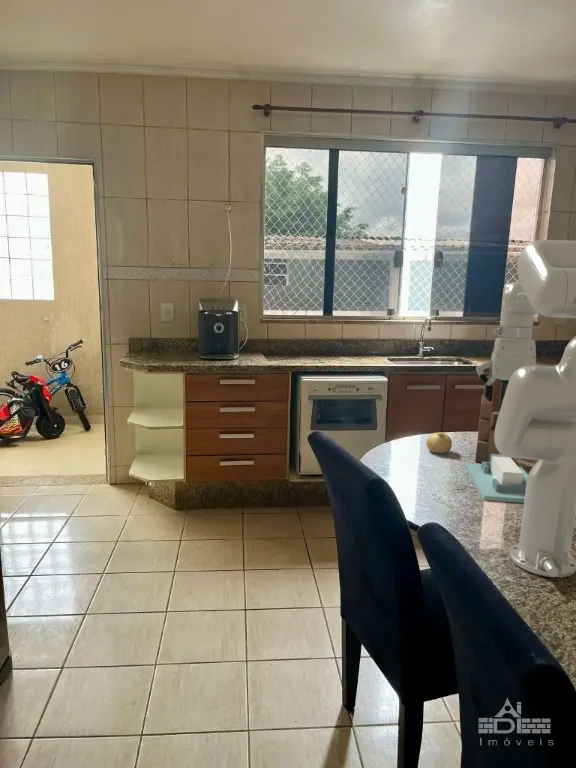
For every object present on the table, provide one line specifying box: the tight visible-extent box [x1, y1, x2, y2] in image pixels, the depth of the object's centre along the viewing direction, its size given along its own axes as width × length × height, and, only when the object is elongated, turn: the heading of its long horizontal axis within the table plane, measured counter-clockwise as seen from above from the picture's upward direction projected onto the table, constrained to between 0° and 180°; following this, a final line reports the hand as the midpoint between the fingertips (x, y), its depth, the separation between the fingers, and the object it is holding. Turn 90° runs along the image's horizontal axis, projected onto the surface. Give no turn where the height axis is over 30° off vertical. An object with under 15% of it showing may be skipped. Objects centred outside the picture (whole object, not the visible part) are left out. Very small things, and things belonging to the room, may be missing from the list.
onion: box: [425, 431, 453, 455], centre depth 181 cm, size 8×8×7 cm
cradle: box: [465, 462, 529, 504], centre depth 156 cm, size 24×16×3 cm, turn 174°
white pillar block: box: [489, 453, 523, 485], centre depth 155 cm, size 14×5×5 cm, turn 174°
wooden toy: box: [475, 380, 500, 464], centre depth 177 cm, size 16×7×25 cm, turn 160°
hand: (508, 401), depth 143 cm, fingers open, 9 cm apart
